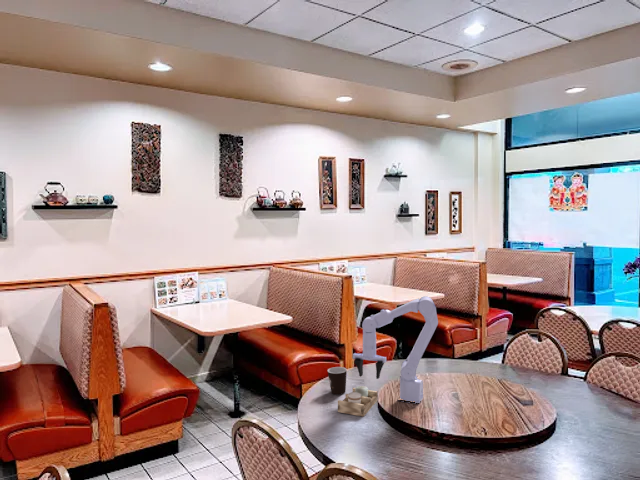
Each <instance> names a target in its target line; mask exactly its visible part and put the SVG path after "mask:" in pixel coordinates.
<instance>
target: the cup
mask: <svg viewBox="0 0 640 480" xmlns="http://www.w3.org/2000/svg"><path fill="white" fill-rule="evenodd" d="M347 394H348V402H352V403H358V404H361V394H360V393H357V392H353V391H352V392H349V393H347Z"/></svg>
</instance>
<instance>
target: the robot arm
mask: <svg viewBox="0 0 640 480" xmlns="http://www.w3.org/2000/svg"><path fill="white" fill-rule="evenodd" d="M411 312H413V313H416V314H417V313H420V314H421V315H422V316H423V318H424V321H425V323H424V326H422V330H421V331H420V333H419V335H418V337H417V339H416V341H415V343H414V345H413V348H412V350H411V351H410V352H409V355H408V356H407V358H406V359H405V360H403V362H402V363H401V367H400V368H401V369H400V376H399V396H400V398H401V399H403V400H406V401H412V402H413V401H415V403H414V404H416V403H419V404H420V403H421V402H422V400H423V399H424V381H423V380H422V379H419V378H418V376H417V369H418V367H419V365H420V364H419V363H420V362H421V359H422V357H423V355H424V353H425V351H426V349H427V347H428V345H429V343H430V341H431V339H432V337H433V335H434V333H435V331H436V329H437V327H438V325H439V319H438V314H437V307H436V304H435V302H434V301H433V299H432V297H430V296H428V295H427V296H426V295H425V296H422V297H421V298H419V297H418V298H415V299H413V300H410V301H408V302H406V303H405V304H402V305H401V306H398V307H396V308H394V309H391V310H389V309H381V310H380V312H378V313H376V314H371V315H370V316H367V317H366V318H364V319H363V321H362V323H361V326H362V353H356V352H354V353H353V354H352V359H353V360H354V364H355V366H356V368H357V370H358V374H359V377H362V376H363V373H364V369H363V367H364V360H365V361H371V362H372V361H373V362H375V370H376V371H375V372H376V375H375V377H376V379H377V380H379V379H380V376H381V373H382V368H383V366H384V365H385V363H387V356H382V355H378V354H377V331H376V329H379V328H381V327H384V326H386V325H388V324H391V323H393V320H394V319H395V318H397V317H401V316H403V315H405V314H407V313H411ZM420 401H421V402H420Z"/></svg>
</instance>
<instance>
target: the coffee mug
mask: <svg viewBox="0 0 640 480" xmlns="http://www.w3.org/2000/svg"><path fill="white" fill-rule="evenodd" d="M347 371H348V369H347V368H346V367H344V366H343V367H342V366H335V367H329V368H327V375H328V381H329V388H330V393H331V394H332V395H334V396H335V395H336V396H339V395H343V394H346V389H347V373H348V372H347Z"/></svg>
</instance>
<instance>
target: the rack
mask: <svg viewBox="0 0 640 480" xmlns="http://www.w3.org/2000/svg"><path fill="white" fill-rule="evenodd" d="M352 392H357V393H360V394H361V404H358V403H352V402H348V394H349V393H344V394H345V398H344V399H342V400H340V399H338V400H337V413H342V414H345V415H346V414H347V415H353V416H356V417H358V416H359V417H365V416H366V414H367V413H368V412H369V411H370V410H371V409H372V407H374V405H375V404H376V403H377V402H378V401H377V399H379V398H378V394H379V393H378V391H376V390H370V389H369V388H368V387H367V386H365V385H364V386H363V385H361V386H360V385H359V386H356V387H353V388H352Z"/></svg>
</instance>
